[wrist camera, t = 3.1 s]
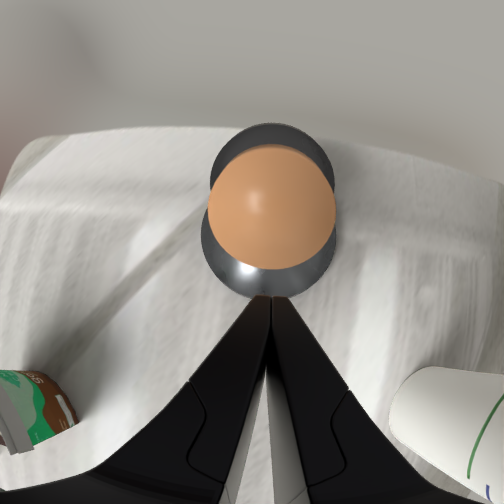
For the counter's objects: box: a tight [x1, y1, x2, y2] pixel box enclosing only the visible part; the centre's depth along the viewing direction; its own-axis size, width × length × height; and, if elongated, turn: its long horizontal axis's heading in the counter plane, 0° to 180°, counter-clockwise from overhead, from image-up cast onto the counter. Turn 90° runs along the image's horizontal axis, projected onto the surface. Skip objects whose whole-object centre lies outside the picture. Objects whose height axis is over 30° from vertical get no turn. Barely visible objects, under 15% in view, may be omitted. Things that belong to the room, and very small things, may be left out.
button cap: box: [208, 144, 336, 269], centre depth 14 cm, size 6×6×6 cm
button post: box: [201, 123, 336, 299], centre depth 18 cm, size 10×10×8 cm
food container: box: [0, 370, 79, 455], centre depth 14 cm, size 12×6×10 cm, turn 102°
